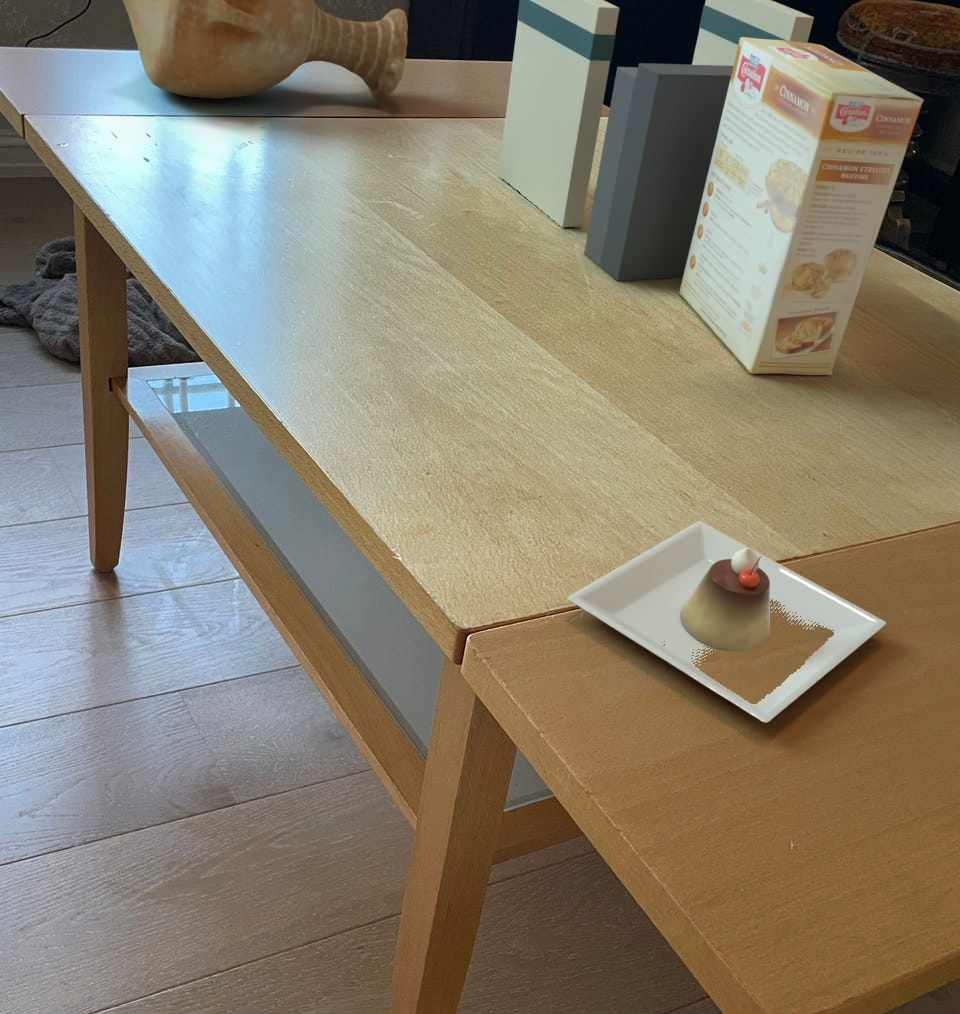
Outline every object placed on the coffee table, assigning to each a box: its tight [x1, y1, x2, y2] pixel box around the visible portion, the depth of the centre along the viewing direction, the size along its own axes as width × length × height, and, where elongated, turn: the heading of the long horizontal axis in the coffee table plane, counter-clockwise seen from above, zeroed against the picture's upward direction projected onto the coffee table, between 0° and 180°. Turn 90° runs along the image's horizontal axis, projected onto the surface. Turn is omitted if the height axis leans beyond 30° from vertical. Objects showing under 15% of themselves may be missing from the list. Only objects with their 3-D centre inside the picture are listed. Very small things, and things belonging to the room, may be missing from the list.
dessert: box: [567, 520, 887, 724], centre depth 58 cm, size 12×12×5 cm
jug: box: [122, 0, 409, 103], centre depth 121 cm, size 20×19×30 cm
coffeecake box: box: [678, 37, 925, 376], centre depth 85 cm, size 15×7×20 cm, turn 13°
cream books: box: [497, 0, 815, 229], centre depth 108 cm, size 22×14×18 cm, turn 114°
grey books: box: [583, 62, 734, 282], centre depth 96 cm, size 12×6×16 cm, turn 114°
